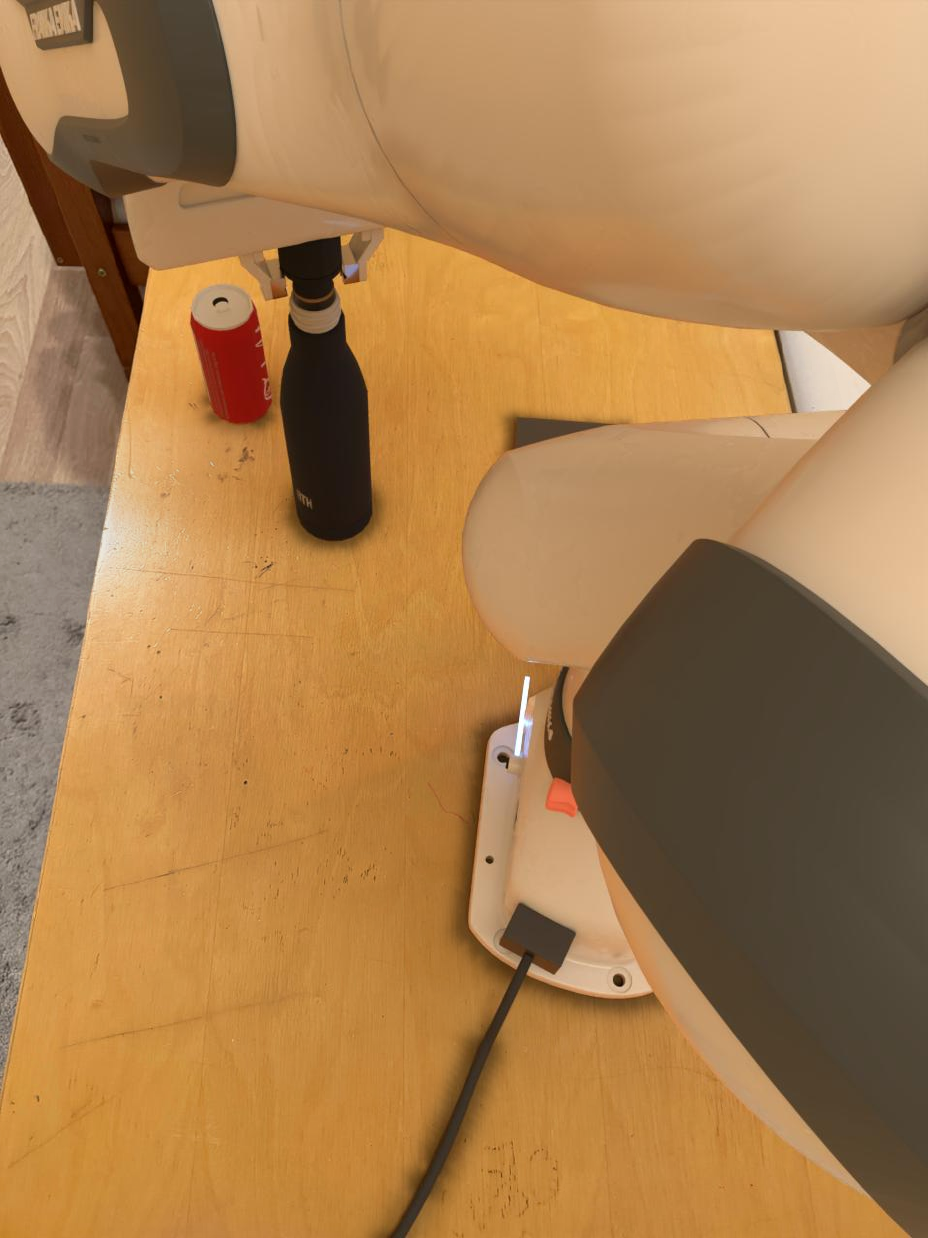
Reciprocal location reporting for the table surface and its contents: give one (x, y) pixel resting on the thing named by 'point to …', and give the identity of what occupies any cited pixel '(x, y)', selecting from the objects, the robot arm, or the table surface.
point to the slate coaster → (547, 429)
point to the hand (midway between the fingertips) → (313, 284)
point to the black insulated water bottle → (324, 399)
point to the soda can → (231, 352)
